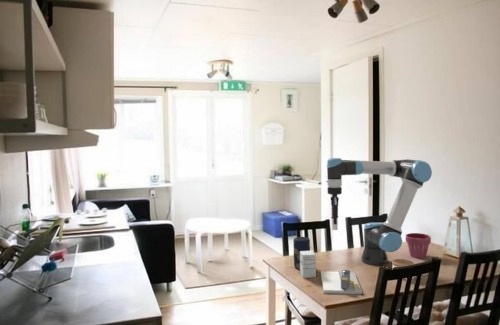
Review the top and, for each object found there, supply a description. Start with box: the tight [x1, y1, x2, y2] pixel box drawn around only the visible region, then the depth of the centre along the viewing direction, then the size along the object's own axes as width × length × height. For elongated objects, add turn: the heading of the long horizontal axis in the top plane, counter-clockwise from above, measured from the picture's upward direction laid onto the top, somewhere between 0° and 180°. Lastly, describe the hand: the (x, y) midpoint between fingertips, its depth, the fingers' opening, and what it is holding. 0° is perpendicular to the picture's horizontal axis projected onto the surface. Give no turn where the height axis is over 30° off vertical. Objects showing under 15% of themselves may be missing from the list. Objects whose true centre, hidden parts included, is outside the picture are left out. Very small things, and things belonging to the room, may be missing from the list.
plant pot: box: [405, 232, 432, 259], centre depth 244 cm, size 14×14×13 cm
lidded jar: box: [391, 258, 415, 269], centre depth 211 cm, size 11×11×9 cm
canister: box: [293, 236, 311, 270], centre depth 229 cm, size 10×10×18 cm
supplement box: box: [299, 250, 317, 279], centre depth 216 cm, size 7×7×13 cm
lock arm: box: [341, 269, 351, 289], centre depth 198 cm, size 14×4×5 cm, turn 162°
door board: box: [320, 270, 363, 295], centre depth 203 cm, size 18×26×4 cm
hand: (334, 229), depth 217 cm, fingers closed
